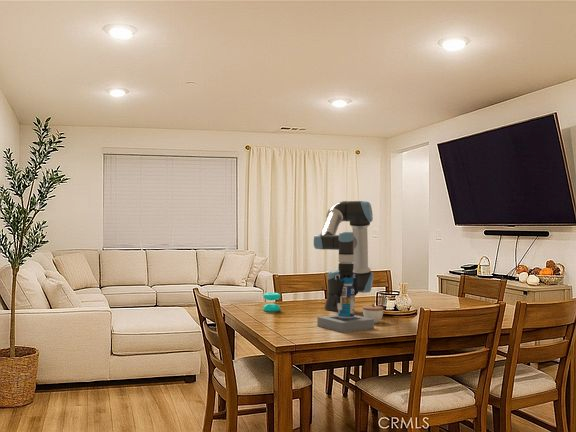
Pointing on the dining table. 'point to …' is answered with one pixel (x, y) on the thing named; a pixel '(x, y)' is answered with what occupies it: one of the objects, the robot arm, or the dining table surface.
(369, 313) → the lidded jar
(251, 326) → the dining table surface
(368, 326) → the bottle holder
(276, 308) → the donuts
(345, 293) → the beverage bottle
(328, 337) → the dining table surface
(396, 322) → the dining table surface
